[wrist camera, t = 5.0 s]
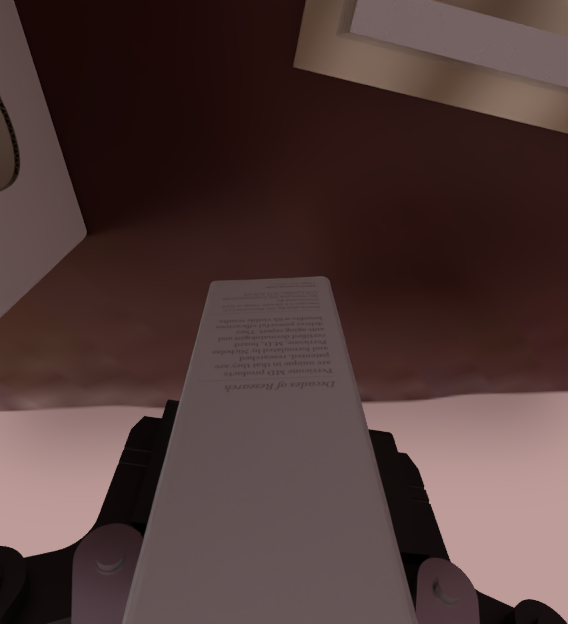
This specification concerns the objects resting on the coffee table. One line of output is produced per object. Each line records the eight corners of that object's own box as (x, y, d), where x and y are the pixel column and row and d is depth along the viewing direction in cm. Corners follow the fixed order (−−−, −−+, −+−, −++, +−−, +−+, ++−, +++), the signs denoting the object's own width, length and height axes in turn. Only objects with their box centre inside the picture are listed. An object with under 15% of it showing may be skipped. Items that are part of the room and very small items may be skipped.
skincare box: (329, 401, 18) (403, 873, 8) (226, 405, 18) (162, 882, 8) (332, 268, 15) (468, 768, 4) (207, 273, 15) (57, 785, 4)
